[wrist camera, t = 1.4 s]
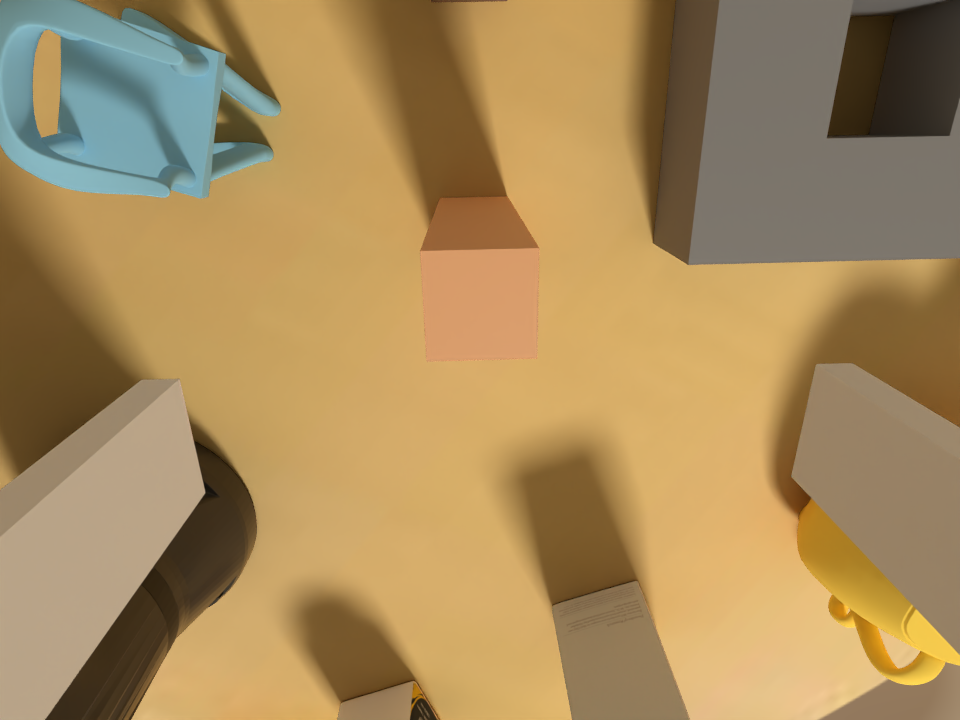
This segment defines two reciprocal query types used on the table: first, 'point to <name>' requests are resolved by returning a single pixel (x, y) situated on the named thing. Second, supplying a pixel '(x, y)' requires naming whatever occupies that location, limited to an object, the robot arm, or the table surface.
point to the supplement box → (615, 658)
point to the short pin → (464, 0)
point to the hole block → (808, 136)
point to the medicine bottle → (389, 705)
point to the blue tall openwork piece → (121, 103)
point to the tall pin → (479, 282)
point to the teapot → (869, 600)
